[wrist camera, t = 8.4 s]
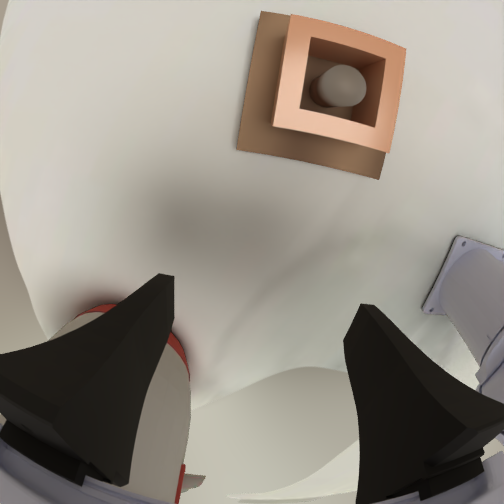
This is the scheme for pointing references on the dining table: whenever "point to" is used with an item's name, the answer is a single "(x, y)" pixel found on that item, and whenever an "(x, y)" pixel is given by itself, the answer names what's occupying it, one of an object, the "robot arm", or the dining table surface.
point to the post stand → (302, 106)
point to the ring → (348, 53)
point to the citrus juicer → (157, 423)
